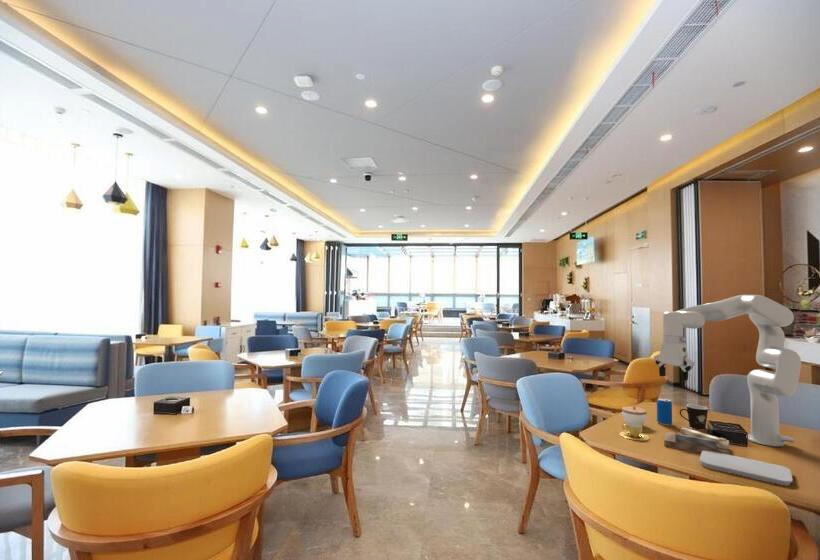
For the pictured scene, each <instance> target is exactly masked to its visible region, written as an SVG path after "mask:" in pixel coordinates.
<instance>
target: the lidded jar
mask: <svg viewBox="0 0 820 560" xmlns="http://www.w3.org/2000/svg"><path fill="white" fill-rule="evenodd" d="M621 413H622V414H621V415H622V418H623V420H624V422H625V424H626V423H637V424H640V425H642V426H643V425H645V424H646V422H647V421H646V420H647V413H648V412H647V410H646V409H645V408H642V407H638V406H637V407H636V405H633V406H622V407H621Z"/></svg>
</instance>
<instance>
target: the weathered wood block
mask: <svg viewBox="0 0 820 560" xmlns="http://www.w3.org/2000/svg"><path fill="white" fill-rule="evenodd" d="M663 440H664V441H663V442H664V443H663V445H664V447H667V446H668V447H667V448H672V447H673V449H677V450H682V449H683V451H687V450H688V452H694V453H699V454H701V453H702V451H704V450H708V451H714V452H719V453H723V454H728V455H731V454H730V447H729V448H728V449H722V448H719V447H717V441H715V440H709V439H703V438H698V437H692V436H686V435H681V434H680V433H675V432H670V431H666V432H665V435H664V439H663Z"/></svg>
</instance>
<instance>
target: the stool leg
mask: <svg viewBox="0 0 820 560" xmlns="http://www.w3.org/2000/svg"><path fill="white" fill-rule="evenodd" d="M679 430H680V431H679V434H681V435H686V436H692V437H698V438H703V439H709V440H715V441H717V447H719V448H722V449H728V448H729V449H730V440H727V438H724V437H718V436H715V435H711V434H707V433H704V432H701V431H697V430H695V429H692V428H687V427H681V428H679Z"/></svg>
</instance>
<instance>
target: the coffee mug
mask: <svg viewBox="0 0 820 560" xmlns="http://www.w3.org/2000/svg"><path fill="white" fill-rule="evenodd" d="M682 411H686V412H687V417H685V416H683V415H682ZM708 412H709V408H708V406H704V405H698V404H692V403H691V404H686V408H681V409H680V410H679V415H680V416H681V417H682V418H683V419H684V420H686V421H687V422H688V425H689V428H691V427H692V428H691V429H694V428H695V429H694V430H699V429H705V428H706V427H707V419H708ZM706 429H707V428H706ZM706 429H705V430H706Z"/></svg>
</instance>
